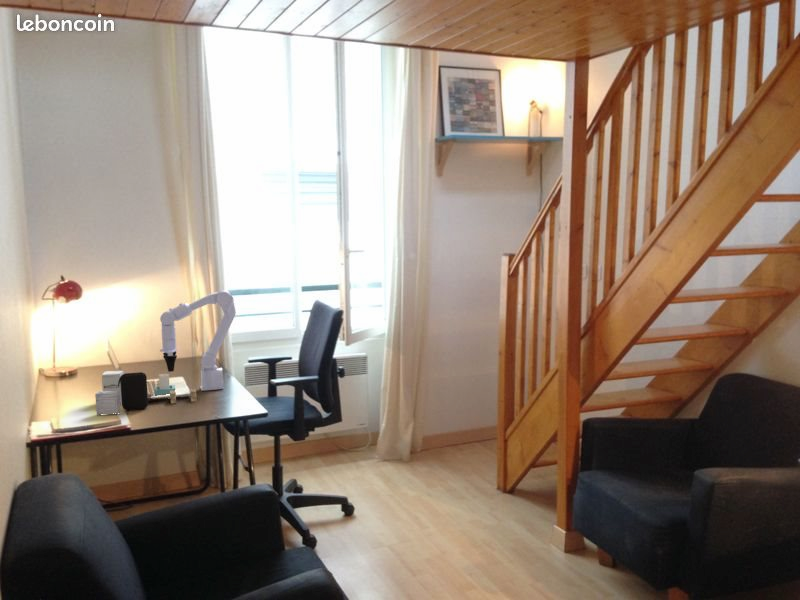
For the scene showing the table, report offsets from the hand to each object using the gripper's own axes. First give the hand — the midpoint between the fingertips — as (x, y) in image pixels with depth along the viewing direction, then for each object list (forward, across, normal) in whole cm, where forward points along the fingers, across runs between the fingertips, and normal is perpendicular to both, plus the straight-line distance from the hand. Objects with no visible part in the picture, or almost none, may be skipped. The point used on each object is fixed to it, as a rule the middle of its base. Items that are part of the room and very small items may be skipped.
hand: (170, 369), depth 318 cm
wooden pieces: (+9, +21, +4) cm, 23 cm away
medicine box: (+10, +32, -24) cm, 41 cm away
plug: (+8, +8, -3) cm, 12 cm away
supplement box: (+10, +12, -23) cm, 28 cm away
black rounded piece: (+10, +29, -15) cm, 34 cm away
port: (+9, +8, -3) cm, 13 cm away
